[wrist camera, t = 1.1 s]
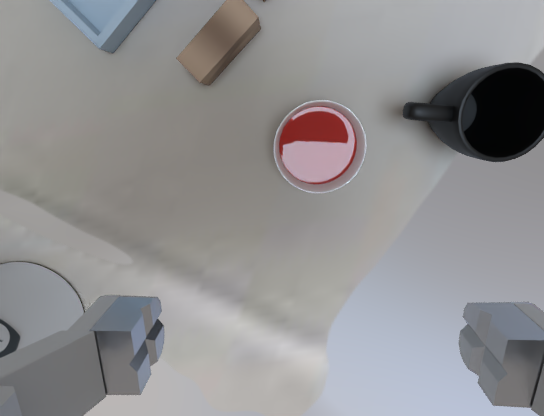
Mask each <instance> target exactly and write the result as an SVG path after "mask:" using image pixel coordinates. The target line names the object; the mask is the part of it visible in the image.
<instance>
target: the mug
mask: <svg viewBox="0 0 544 416" xmlns="http://www.w3.org/2000/svg"><path fill="white" fill-rule="evenodd" d="M403 117H404V118H405V119H411V120H421V121H428V123H429V125H430V127H431V129H432V130H433V131H434V132H435V133H436V135H437V136H438V137H439V138H440V139H441V140H442V141H443V142H444V143H445V144H447V145H448V146H449V147H451V148H452V149H454V150H456V151H458V152H460V153H462V154H464V155H467V156H470V157H474V158H477V159H482V160H486V161H491V162H503V161H508V160H512V159H515V158H518V157H520V156H522V155H524V154H526V153H527V152H529V151H530V150H531V149H533V148H534V147H535V146H536V145H537V144H538V143H539V142H540V141H541V140H542V139H543V138H544V74H543V73H542V72H541V71H540V70H539V69H537V68H535V67H533V66H531V65H528V64H523V63H505V64H499V65H494V66H489V67H485V68H481V69H478V70H475V71H472V72H470V73H468V74H466V75H464V76H462V77H460V78H458V79H456V80H454V81H453V82H452V83H450V84H449V85H448V86H447V87H445V88H444V89H443V90H442V91H440V92H439V93H438V94H437V95H436V96H435V97H434V98H433V100H432V101H431V103H430V104H427V103H413V102H408V103H406V104H405V106H404V109H403Z"/></svg>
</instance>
